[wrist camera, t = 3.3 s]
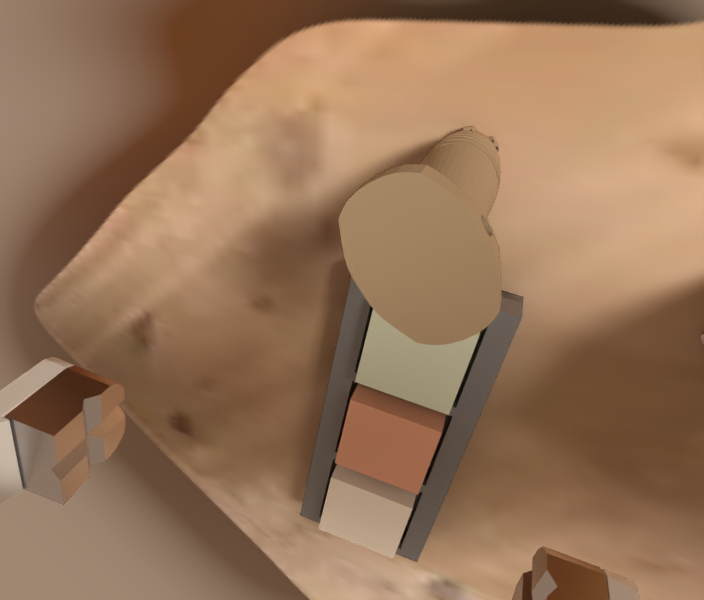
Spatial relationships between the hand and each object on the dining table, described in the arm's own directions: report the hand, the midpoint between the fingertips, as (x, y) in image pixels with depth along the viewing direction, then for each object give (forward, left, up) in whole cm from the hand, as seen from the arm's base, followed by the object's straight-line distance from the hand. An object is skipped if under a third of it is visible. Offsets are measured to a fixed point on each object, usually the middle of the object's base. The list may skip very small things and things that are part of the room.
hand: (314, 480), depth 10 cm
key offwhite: (+28, +1, -23) cm, 37 cm away
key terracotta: (+20, +1, -23) cm, 31 cm away
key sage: (+12, 0, -23) cm, 26 cm away
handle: (0, 0, -25) cm, 25 cm away
